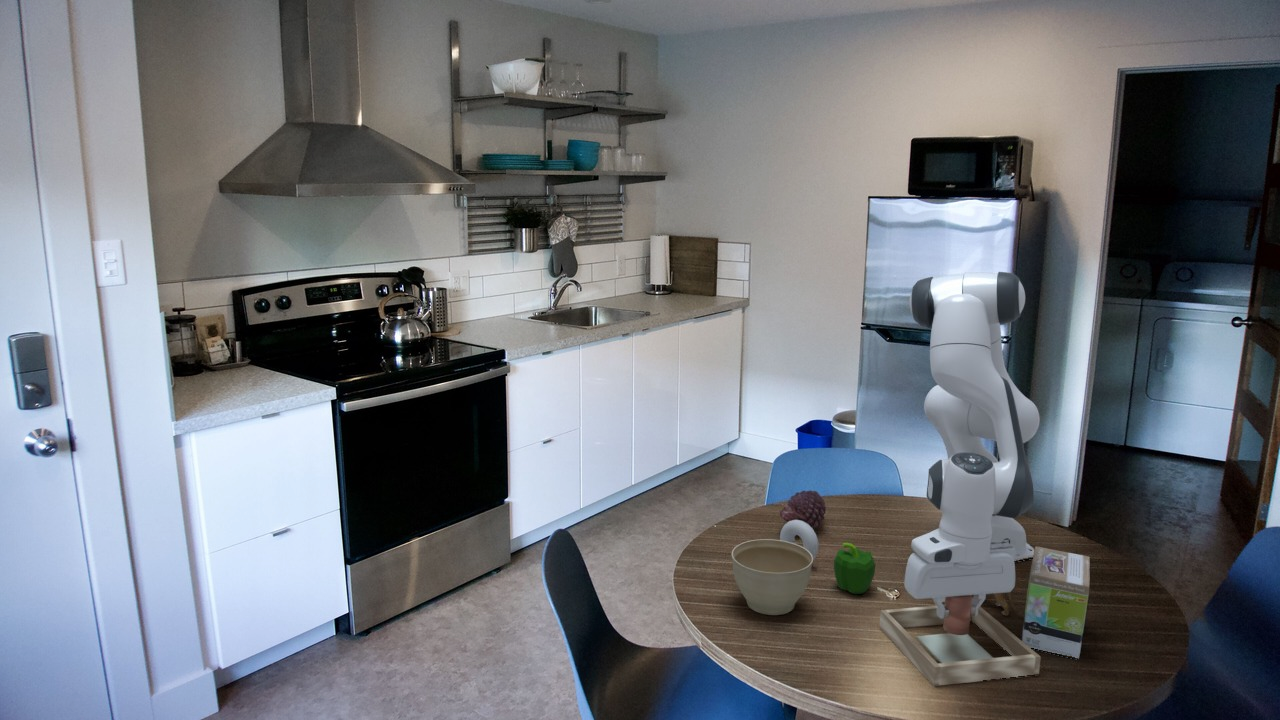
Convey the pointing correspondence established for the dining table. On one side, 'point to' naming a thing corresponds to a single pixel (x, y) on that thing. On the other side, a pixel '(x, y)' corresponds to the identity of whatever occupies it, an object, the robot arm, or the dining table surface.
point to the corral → (958, 648)
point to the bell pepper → (854, 569)
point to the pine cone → (805, 508)
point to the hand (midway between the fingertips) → (956, 615)
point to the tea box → (1056, 601)
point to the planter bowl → (771, 574)
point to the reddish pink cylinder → (958, 614)
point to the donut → (800, 535)
